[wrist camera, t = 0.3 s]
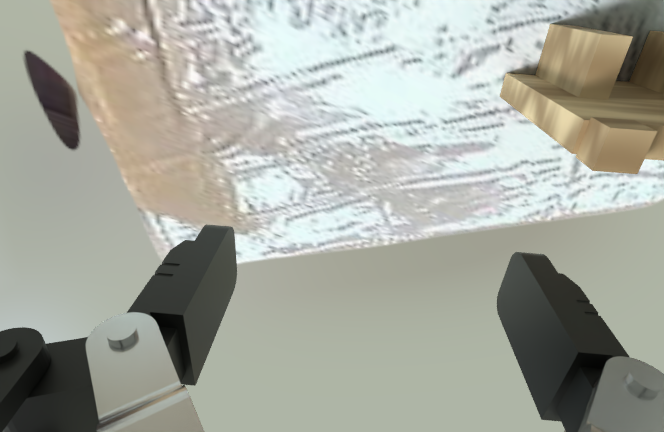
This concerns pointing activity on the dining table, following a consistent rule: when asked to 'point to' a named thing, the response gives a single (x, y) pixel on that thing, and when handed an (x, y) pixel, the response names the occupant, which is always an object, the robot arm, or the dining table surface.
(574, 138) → the wooden post stand
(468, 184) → the dining table surface
